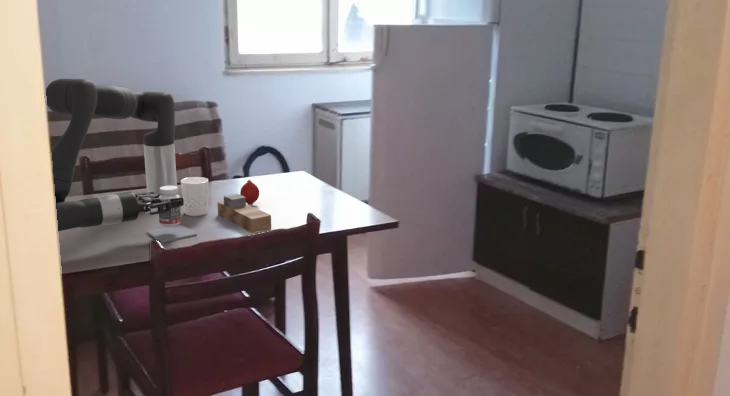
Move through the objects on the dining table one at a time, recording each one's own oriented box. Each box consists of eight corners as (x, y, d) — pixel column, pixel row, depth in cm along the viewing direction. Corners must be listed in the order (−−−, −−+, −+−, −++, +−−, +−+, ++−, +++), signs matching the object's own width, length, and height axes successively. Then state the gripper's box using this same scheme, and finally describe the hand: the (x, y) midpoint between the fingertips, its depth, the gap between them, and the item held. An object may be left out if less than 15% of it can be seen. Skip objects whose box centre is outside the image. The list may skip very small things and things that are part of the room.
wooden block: (218, 215, 217) (217, 194, 215) (236, 211, 221) (235, 191, 219) (252, 233, 202) (251, 210, 200) (271, 228, 206) (270, 206, 204)
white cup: (215, 211, 221) (213, 178, 219) (198, 218, 214) (197, 184, 212) (193, 207, 224) (191, 175, 222) (177, 214, 218) (174, 181, 215)
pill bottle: (175, 227, 196) (173, 191, 194) (155, 225, 197) (153, 189, 195) (184, 221, 202) (183, 185, 199) (165, 219, 203) (163, 184, 200)
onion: (241, 202, 231) (240, 177, 228) (260, 202, 231) (259, 177, 229) (240, 207, 225) (239, 182, 223) (259, 207, 225) (258, 181, 223)
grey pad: (146, 232, 201) (146, 231, 201) (180, 226, 207) (180, 224, 207) (161, 242, 194) (161, 241, 194) (196, 235, 200) (196, 233, 200)
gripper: (125, 200, 183) (189, 190, 193) (104, 188, 194) (166, 179, 204) (127, 229, 185) (190, 218, 195) (107, 215, 196) (167, 205, 206)
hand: (177, 198), depth 199 cm, fingers closed on pill bottle, 5 cm apart
